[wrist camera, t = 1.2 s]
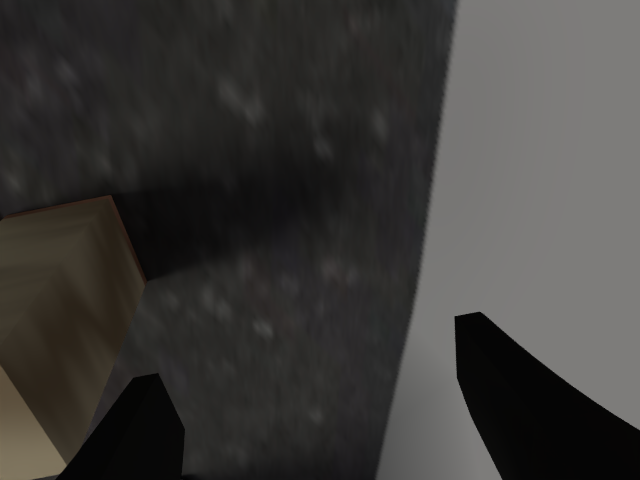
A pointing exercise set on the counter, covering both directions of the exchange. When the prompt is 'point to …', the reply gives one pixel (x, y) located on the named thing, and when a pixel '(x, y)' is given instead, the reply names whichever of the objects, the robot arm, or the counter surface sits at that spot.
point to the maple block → (60, 327)
